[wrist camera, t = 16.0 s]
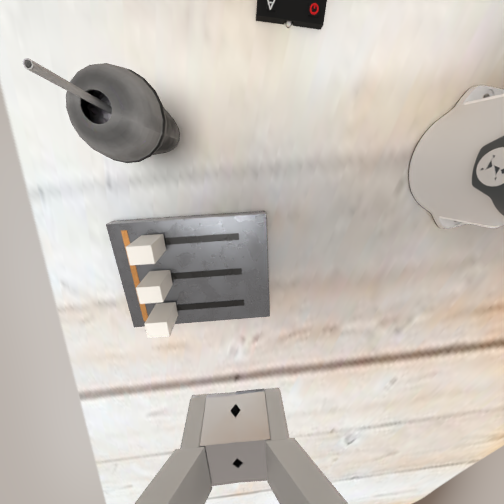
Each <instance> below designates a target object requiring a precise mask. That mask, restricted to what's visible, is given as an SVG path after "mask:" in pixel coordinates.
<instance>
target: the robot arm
mask: <svg viewBox="0 0 504 504" xmlns="http://www.w3.org/2000/svg"><path fill="white" fill-rule="evenodd" d="M483 96H484V98H483ZM409 183H410V188H411V191H412V194H413V196H414V198H415V199H416V201H417V202H418V203H419V204H420V205H421V206H422V207H423V208H425V209H426V210H427V211H429V212H430V213H431V214H432V216H433V218H434V220H435V222H436V224H437V225H438V227H440V228H445V229H449V228H454V227H457V226H461V225H465V224H473V225H478V226H483V227H488V228H498V227H499V226H502V225H504V89H500V88H495V87H490V86H486V85H479V86H474V87H471V88H470V89H469V90H467V91H466V93H465V94H464V95H463V96H462V97H461V99H460V100H459V101H458V103H457V104H456V106H455V107H454V108H453V109H452V110H451V111H449V112H448V113H447V114H445V115H444V116H443V117H441V118H440V119H439V120H437V121H436V122H435V123H434V124H433V125H432V126H431V127H430V128H429V129H428V130H427V131H426V133H425V134H424V135H423V137H422V138H421V140H420V141H419V143H418V145H417V147H416V149H415V151H414V153H413V156H412V159H411V163H410V169H409ZM265 480H268V484H269V485H270V487H271V489H272V491H273V492H274V494H275V496H276V498H277V500H278V501H279V503H280V504H348V503H347V502H346V500H345V499H344V498H343V497H342V496H341V494H340V493H339V492H338V491H337V490H336V488H335V487H334V486H333V485H332V483H331V482H330V481H329V480H328V479H327V477H326V476H325V475H324V474H323V472H322V471H321V470H320V469H319V468H318V466H317V465H316V464H315V463H314V462H313V460H312V459H311V458H310V457H309V455H308V454H307V453H306V452H305V451H304V449H303V448H302V447H301V446H300V445H299V443H298V442H297V441H296V440H295V438H289V434H288V428H287V423H286V418H285V413H284V407H283V402H282V397H281V392H280V389H279V388H270V389H265V390H264V389H256V390H247V391H237V392H232V393H215V394H201V395H192V397H191V400H190V403H189V408H188V413H187V418H186V423H185V428H184V433H183V438H182V443H181V448H180V449H175V451H174V452H173V453H172V455H171V456H170V457H169V459H168V460H167V461H166V463H165V464H164V465H163V467H162V468H161V469H160V471H159V472H158V473H157V475H156V476H155V477H154V479H153V480H152V481H151V483H150V484H149V485H148V487H147V488H146V489H145V491H144V492H143V493H142V495H141V496H140V497H139V498H138V500H137V501H136V502H135V504H205V502H206V500H207V498H208V496H209V494H210V492H211V490H212V486H216V485H223V484H231V483H238V482H251V481H265Z"/></svg>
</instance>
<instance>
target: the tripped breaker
mask: <svg viewBox="0 0 504 504" xmlns="http://www.w3.org/2000/svg"><path fill="white" fill-rule="evenodd" d="M177 317H178V312H177V307H176V302H170V303H157V304H156V305H155V306H154V308H153V310H152V311H151V313H150V315H149V317H148V318H147V320H146V322H145V323H144V325H145V329H146V333H147V336H148V338H157V337H169V336H170V334H171V332H172V329H173V327H174V324H175V322H176V319H177Z"/></svg>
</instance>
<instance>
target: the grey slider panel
mask: <svg viewBox="0 0 504 504" xmlns="http://www.w3.org/2000/svg"><path fill="white" fill-rule="evenodd" d="M106 226H107V230H108V233H109V237H110V241H111V244H112V248H113V252H114V255H115V259H116V263H117V266H118V270H119V274H120V277H121V281H122V285H123V288H124V292H125V296H126V299H127V303H128V306H129V310H130V314H131V317H132V321H133V325H134V327H142V326H145V325H144V323H145V322H146V320H147V318H148V317H149V315H150V313H151V311H152V310H153V308H154V306H155V305H156V304H157V303H147V304H140V302H139V298H138V294H137V290H136V287H137V286H138V285H139V283H140V282H141V281H142V280H143V278H144V277H145V276H146V275H147V274H148V272H149V271H160V270H170V272H171V278H172V283H173V285H172V287H171V289H170V290H169V292H168V294H167V296H166V298H165V300H164V301H163V302H160V303H170V302H176V307H177V312H178V317H177V319H176V322H175V324H179V323H192V322H204V321H217V320H229V319H242V318H254V317H267V316H270V311H269V283H268V254H267V226H266V213H265V211H259V212H243V213H228V214H213V215H198V216H182V217H167V218H152V219H137V220H122V221H112V222H110V223H108V224H106ZM153 234H163V236H164V241H165V246H166V251H165V252H164V253H163V255H162V256H161V257H160V258H159V259H158V261H157V262H156V263H155V264H144V265H130V263H129V259H128V255H127V251H126V246H128V245H129V244H130V243H132V242H133V241H134V240H136V239H137V238H138V237H140V236H141V235H153Z"/></svg>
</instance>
